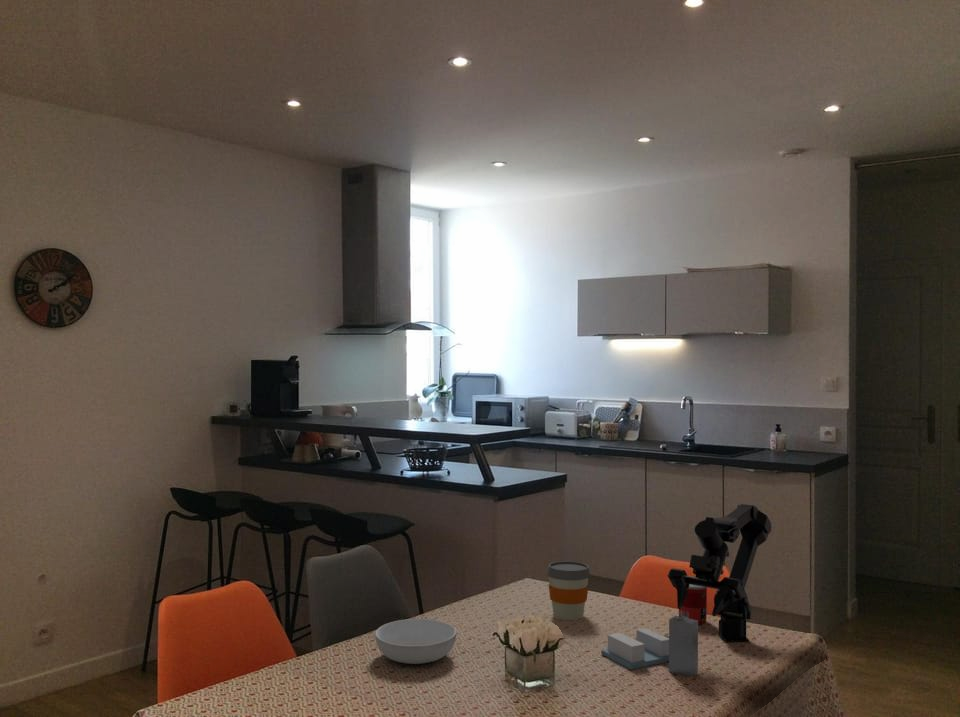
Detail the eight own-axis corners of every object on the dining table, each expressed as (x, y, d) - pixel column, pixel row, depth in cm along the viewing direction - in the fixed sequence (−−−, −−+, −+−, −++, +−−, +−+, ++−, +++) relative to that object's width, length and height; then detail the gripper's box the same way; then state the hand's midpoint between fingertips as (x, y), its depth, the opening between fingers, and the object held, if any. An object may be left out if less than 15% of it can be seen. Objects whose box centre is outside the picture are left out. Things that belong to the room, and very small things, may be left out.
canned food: (707, 625, 240) (707, 587, 240) (679, 623, 241) (679, 586, 241) (705, 618, 247) (705, 581, 247) (678, 616, 249) (678, 579, 249)
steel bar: (674, 667, 206) (675, 615, 206) (697, 673, 202) (698, 620, 202) (668, 671, 203) (669, 619, 203) (691, 677, 199) (692, 623, 199)
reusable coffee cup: (548, 608, 255) (548, 560, 255) (589, 610, 254) (589, 561, 254) (546, 621, 243) (546, 570, 243) (589, 623, 241) (589, 571, 241)
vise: (661, 642, 224) (661, 623, 224) (691, 656, 214) (691, 636, 214) (601, 654, 215) (601, 634, 215) (630, 669, 204) (630, 648, 204)
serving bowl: (358, 658, 211) (358, 631, 211) (418, 638, 226) (418, 613, 226) (413, 679, 197) (413, 650, 197) (473, 657, 212) (473, 630, 212)
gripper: (670, 537, 219) (652, 587, 210) (740, 547, 207) (723, 601, 198) (683, 562, 225) (665, 611, 216) (750, 572, 213) (734, 626, 205)
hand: (695, 612), depth 209 cm, fingers open, 9 cm apart
